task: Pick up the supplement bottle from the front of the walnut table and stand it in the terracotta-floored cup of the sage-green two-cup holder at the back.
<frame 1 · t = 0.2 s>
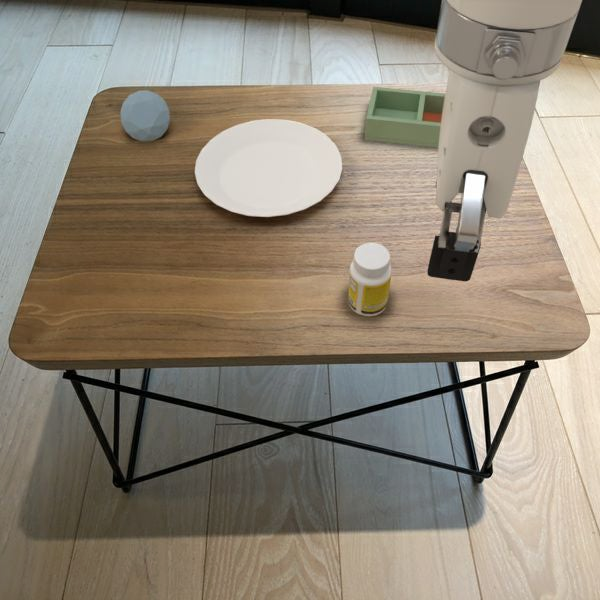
hand: (451, 230, 50), 23 cm above the table, tool pointing down, fingers open, 9 cm apart
gemstone: (149, 131, 96), on the table
plate: (269, 177, 89), on the table
holder: (417, 129, 94), on the table
supplement bottle: (367, 302, 74), on the table
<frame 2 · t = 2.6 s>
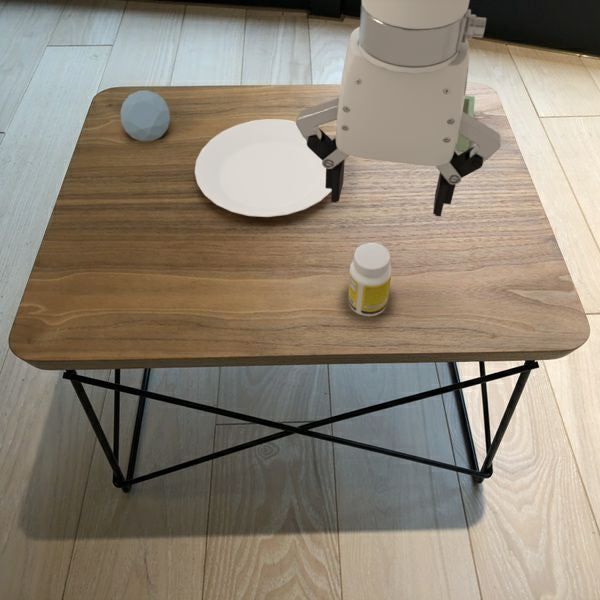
hand: (386, 199, 59), 19 cm above the table, tool pointing down, fingers open, 9 cm apart
nothing on the table moved.
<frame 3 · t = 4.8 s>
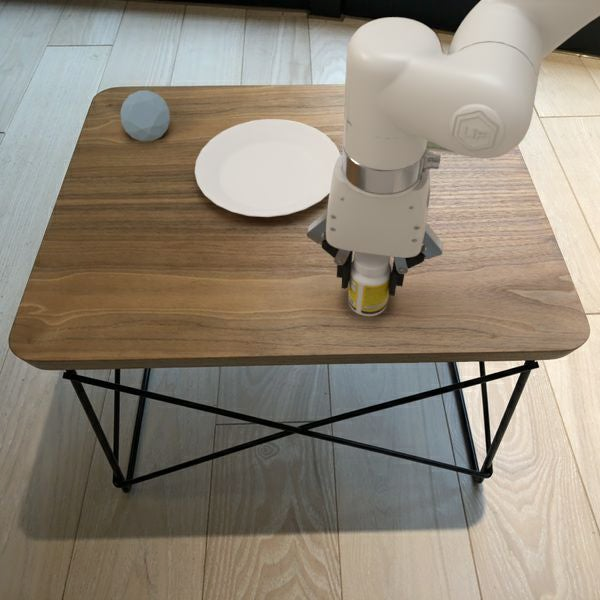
hand: (369, 281, 71), 4 cm above the table, tool pointing down, fingers closed on supplement bottle, 4 cm apart
supplement bottle: (367, 302, 74), on the table, touching gripper
everything else where it was.
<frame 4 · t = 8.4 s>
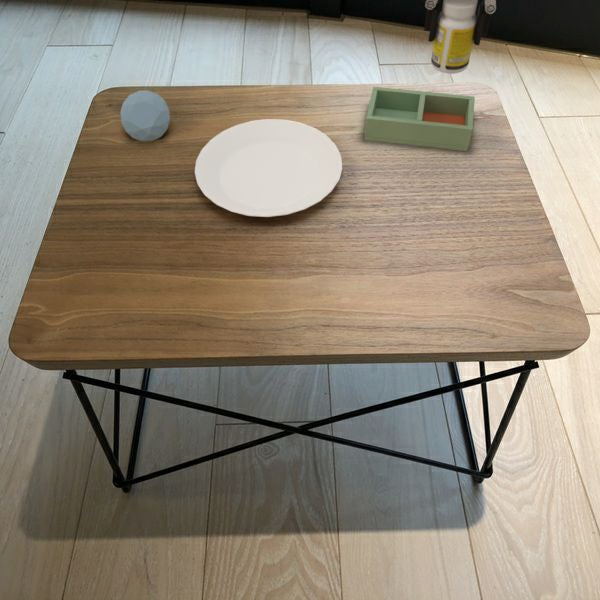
hand: (454, 36, 76), 18 cm above the table, tool pointing down, fingers closed on supplement bottle, 4 cm apart
supplement bottle: (448, 65, 79), point 14 cm above the table, touching gripper
everything else where it was.
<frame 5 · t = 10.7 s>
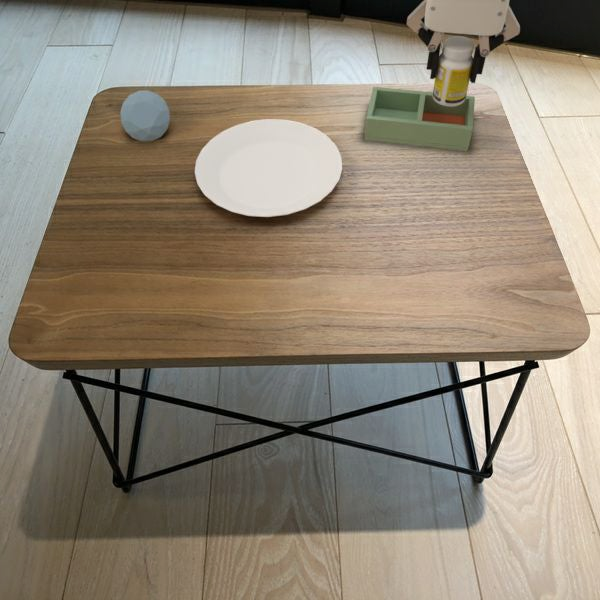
hand: (453, 74, 86), 10 cm above the table, tool pointing down, fingers closed on supplement bottle, 4 cm apart
supplement bottle: (448, 99, 89), point 6 cm above the table, touching gripper
everything else where it was.
when the fingers open (5 cm above the table, at t = 12.4 s): supplement bottle stays where it is, resting on holder.
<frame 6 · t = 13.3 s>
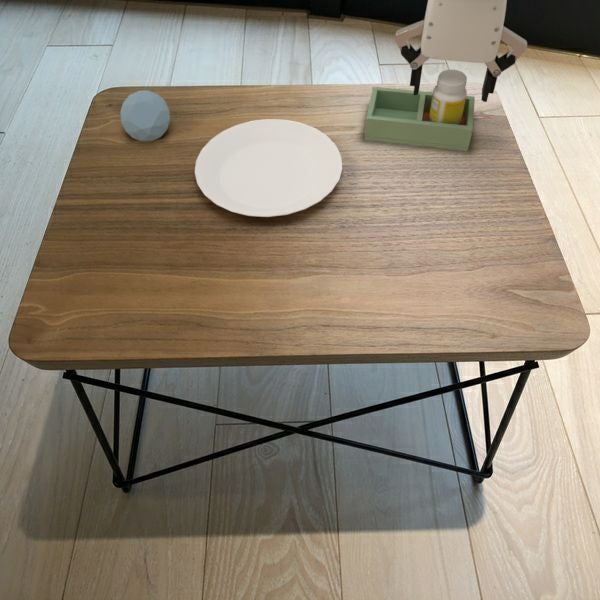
hand: (450, 93, 88), 7 cm above the table, tool pointing down, fingers open, 9 cm apart
supplement bottle: (443, 128, 93), point 1 cm above the table, touching holder
everything else where it was.
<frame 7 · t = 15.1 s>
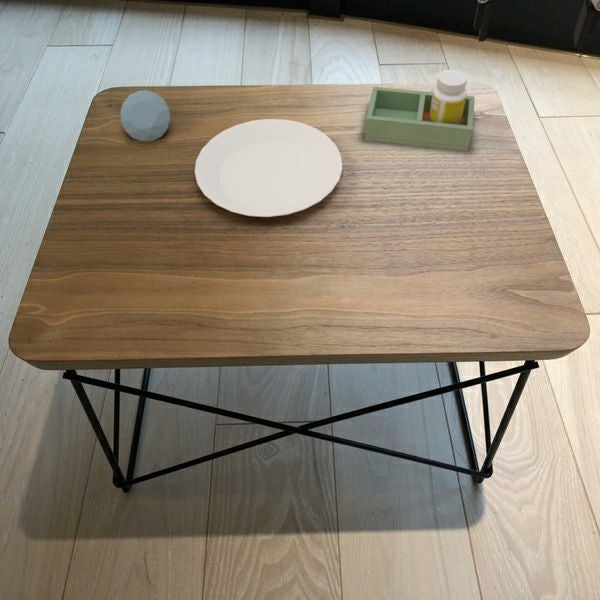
hand: (529, 38, 64), 25 cm above the table, tool pointing down, fingers open, 9 cm apart
nothing on the table moved.
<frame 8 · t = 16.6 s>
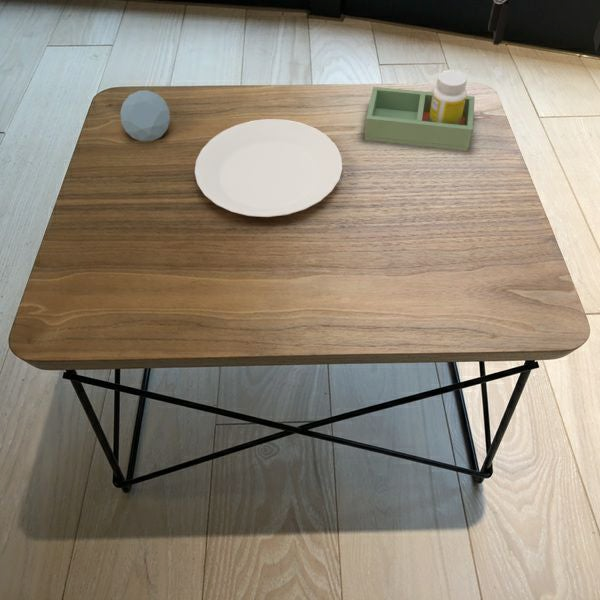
hand: (546, 41, 60), 26 cm above the table, tool pointing down, fingers open, 9 cm apart
nothing on the table moved.
at the end: supplement bottle 0.1 cm from the target spot in the holder, point 0.8 cm above the holder's base; supplement bottle tilted 0°; the gripper is holding nothing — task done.
